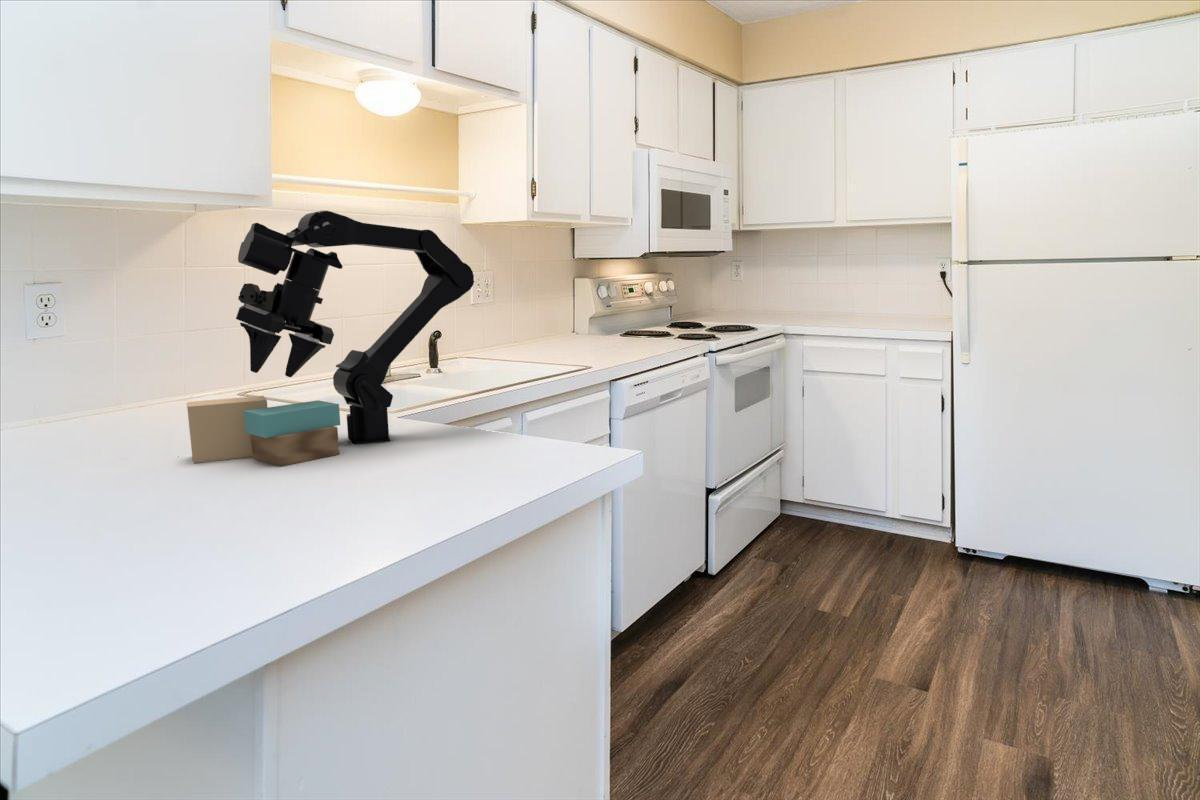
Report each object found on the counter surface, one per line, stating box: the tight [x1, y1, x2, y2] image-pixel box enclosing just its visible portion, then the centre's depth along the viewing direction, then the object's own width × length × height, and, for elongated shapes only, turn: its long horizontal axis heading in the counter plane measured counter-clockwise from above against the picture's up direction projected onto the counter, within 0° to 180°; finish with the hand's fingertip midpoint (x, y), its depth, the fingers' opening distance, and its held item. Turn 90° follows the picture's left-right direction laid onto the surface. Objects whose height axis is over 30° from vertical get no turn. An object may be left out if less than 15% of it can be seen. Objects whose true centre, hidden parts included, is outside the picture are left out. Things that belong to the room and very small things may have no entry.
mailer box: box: [186, 395, 268, 464], centre depth 128 cm, size 11×5×9 cm, turn 119°
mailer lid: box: [244, 399, 341, 438], centre depth 126 cm, size 13×7×4 cm, turn 139°
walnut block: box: [251, 426, 340, 467], centre depth 127 cm, size 10×9×4 cm
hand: (271, 374), depth 130 cm, fingers open, 9 cm apart
